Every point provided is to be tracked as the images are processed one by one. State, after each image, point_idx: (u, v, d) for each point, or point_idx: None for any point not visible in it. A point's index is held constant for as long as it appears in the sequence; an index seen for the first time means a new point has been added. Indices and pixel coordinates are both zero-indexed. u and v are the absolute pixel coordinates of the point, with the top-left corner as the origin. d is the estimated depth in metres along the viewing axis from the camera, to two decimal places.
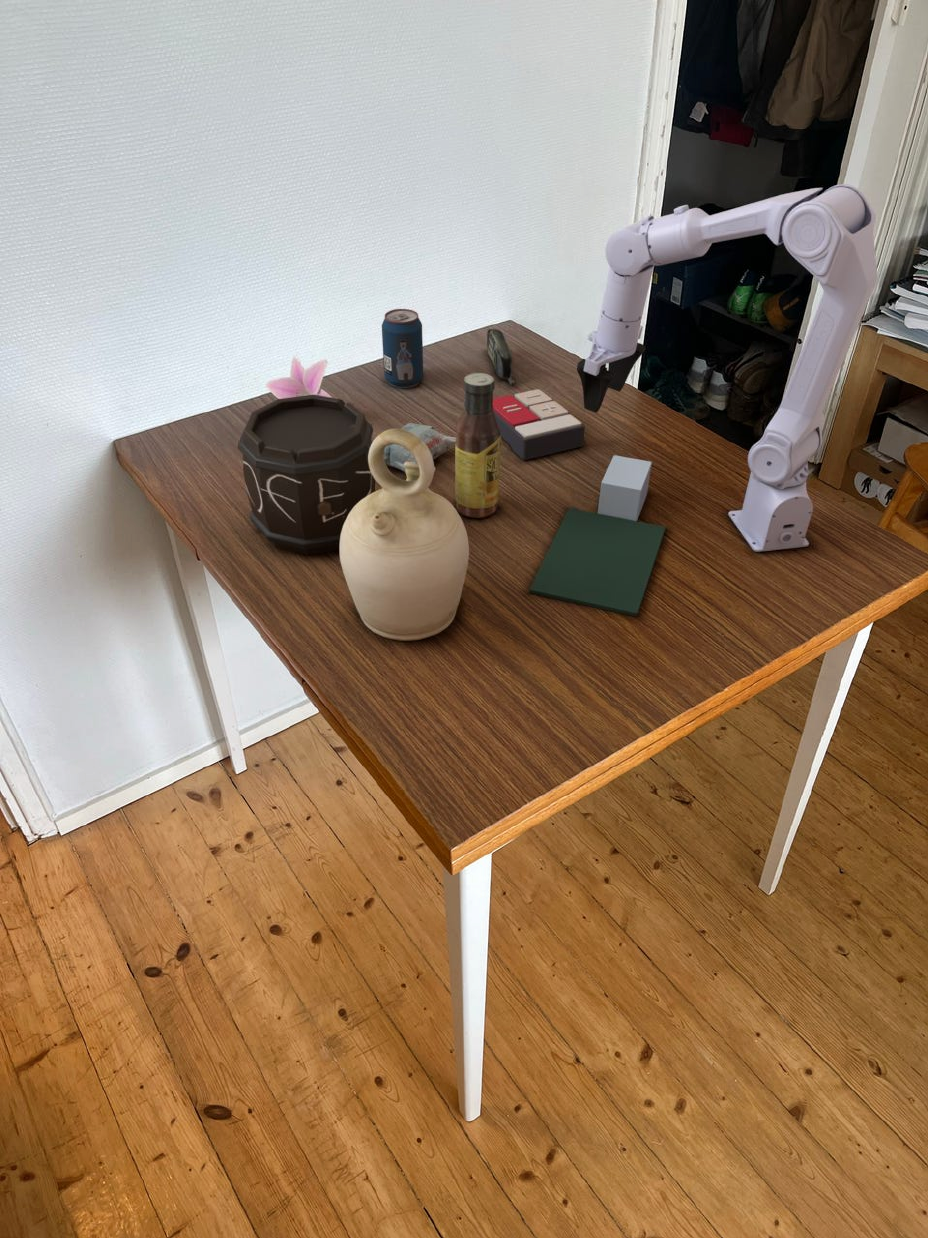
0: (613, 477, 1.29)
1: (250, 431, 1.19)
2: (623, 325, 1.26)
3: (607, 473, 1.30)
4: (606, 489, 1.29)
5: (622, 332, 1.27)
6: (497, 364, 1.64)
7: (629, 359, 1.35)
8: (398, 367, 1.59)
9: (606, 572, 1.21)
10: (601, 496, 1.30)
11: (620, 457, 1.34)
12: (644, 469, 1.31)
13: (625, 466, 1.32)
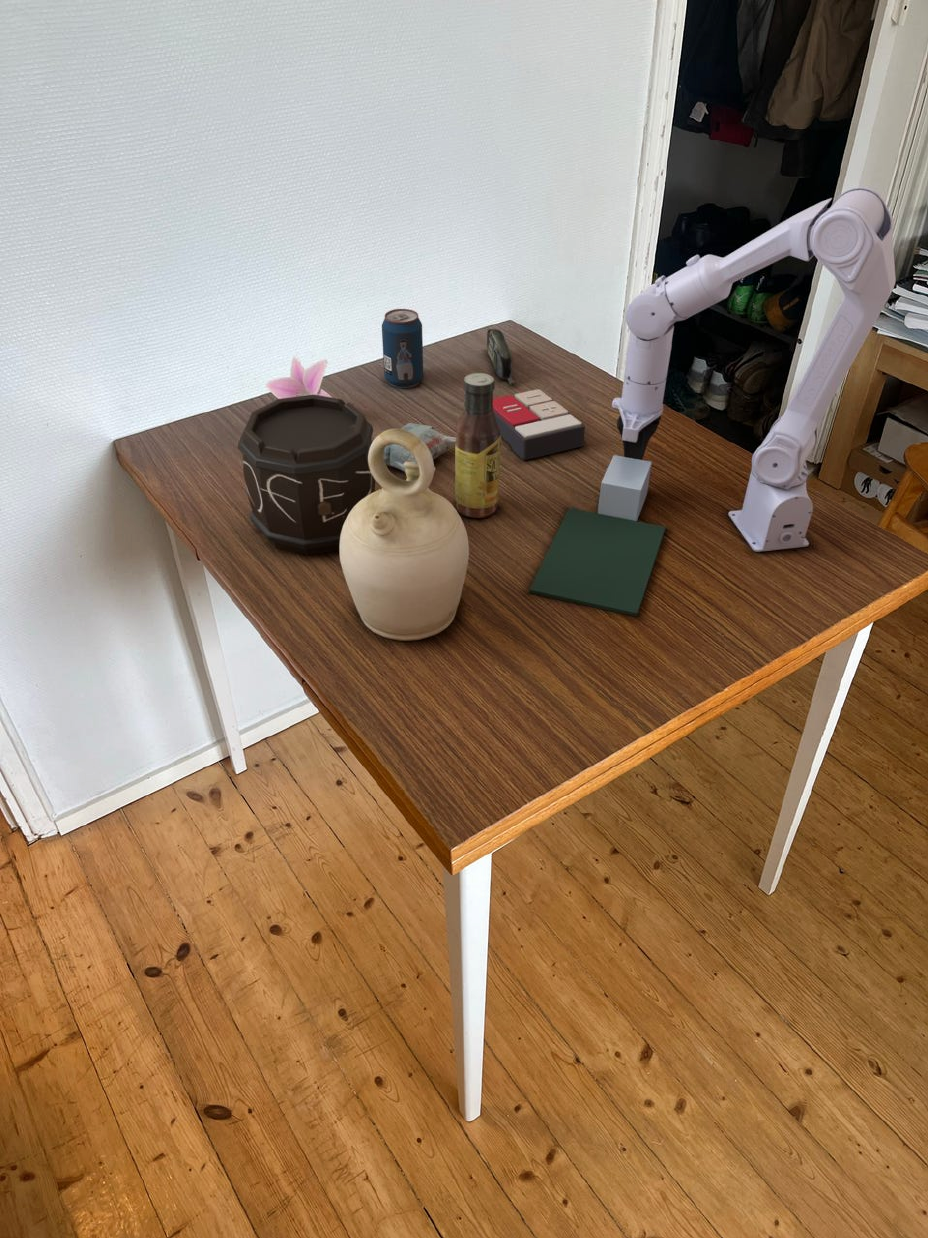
0: (613, 477, 1.29)
1: (250, 431, 1.18)
2: (652, 388, 1.24)
3: (607, 473, 1.30)
4: (606, 489, 1.29)
5: (652, 395, 1.25)
6: (497, 364, 1.64)
7: None
8: (398, 367, 1.59)
9: (606, 572, 1.21)
10: (601, 497, 1.30)
11: (620, 457, 1.34)
12: (644, 469, 1.31)
13: (625, 466, 1.32)
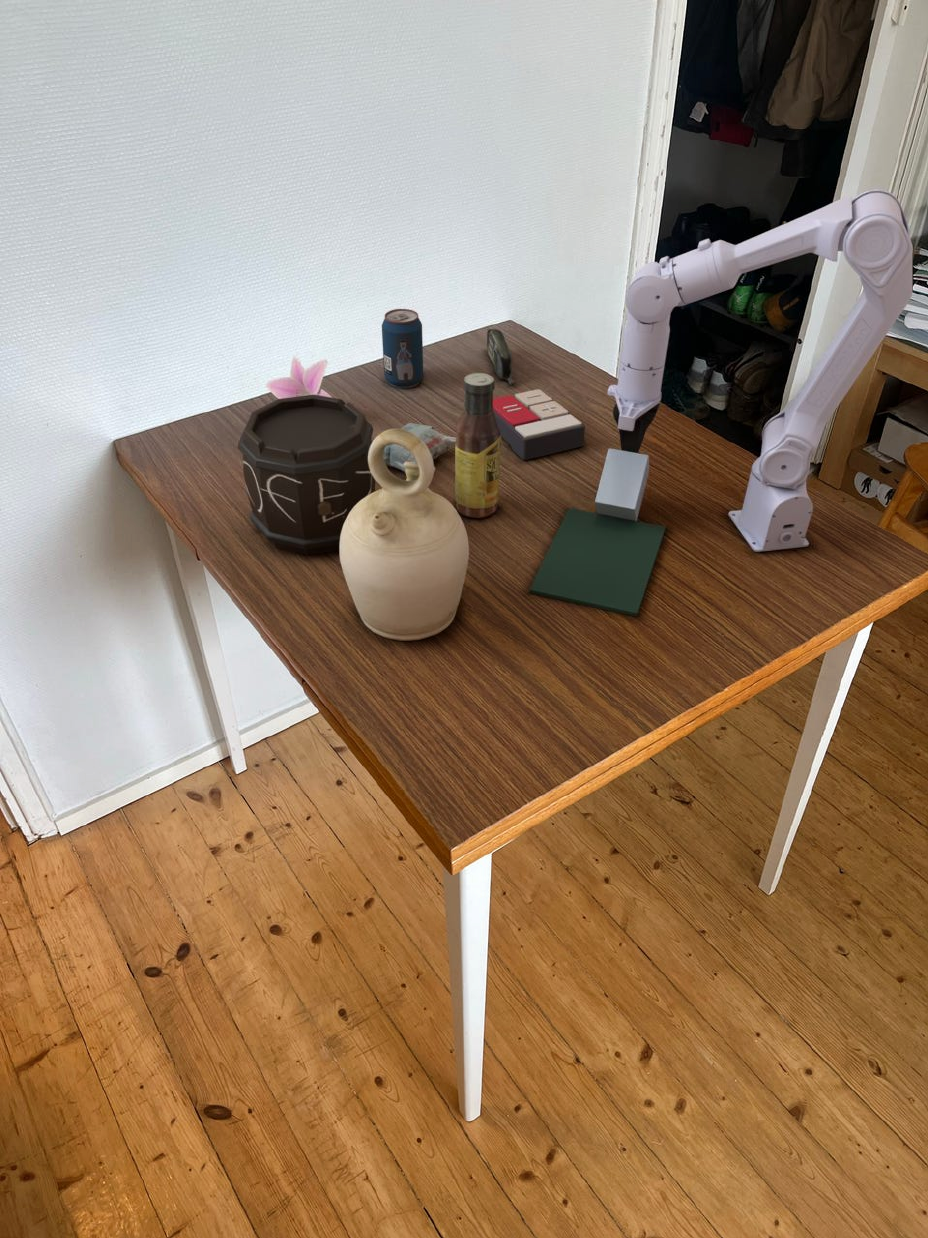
0: (607, 490, 1.27)
1: (250, 431, 1.18)
2: (650, 373, 1.18)
3: (601, 484, 1.27)
4: (601, 505, 1.27)
5: (650, 381, 1.19)
6: (497, 364, 1.64)
7: None
8: (398, 367, 1.59)
9: (606, 572, 1.21)
10: (598, 507, 1.29)
11: (615, 452, 1.28)
12: (640, 471, 1.26)
13: (620, 467, 1.27)
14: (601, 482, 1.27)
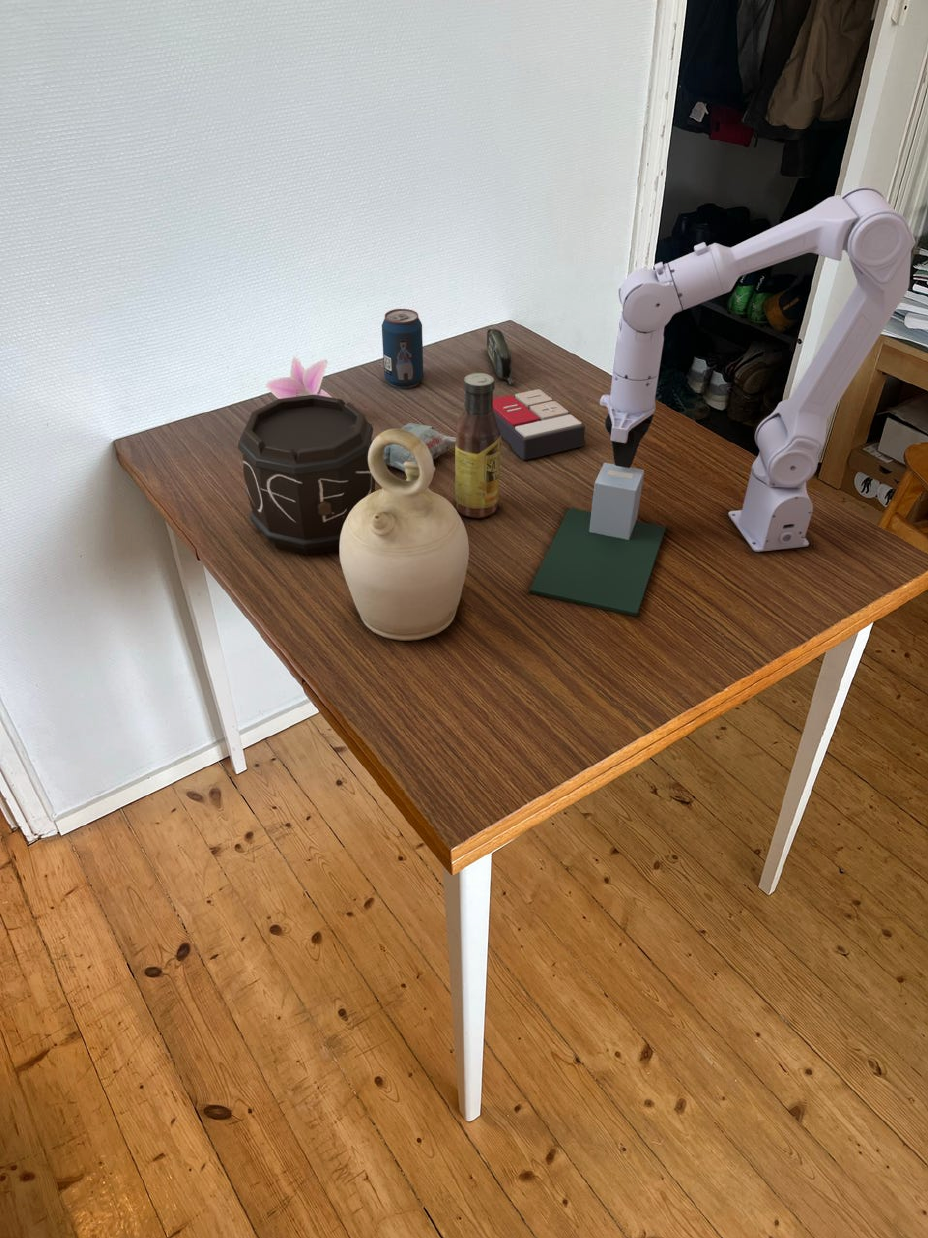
0: (599, 522, 1.26)
1: (250, 431, 1.18)
2: (643, 384, 1.14)
3: (592, 516, 1.26)
4: None
5: (643, 391, 1.15)
6: (496, 364, 1.64)
7: None
8: (398, 367, 1.59)
9: (606, 572, 1.21)
10: None
11: (602, 486, 1.23)
12: (629, 505, 1.23)
13: (609, 502, 1.24)
14: (592, 515, 1.26)
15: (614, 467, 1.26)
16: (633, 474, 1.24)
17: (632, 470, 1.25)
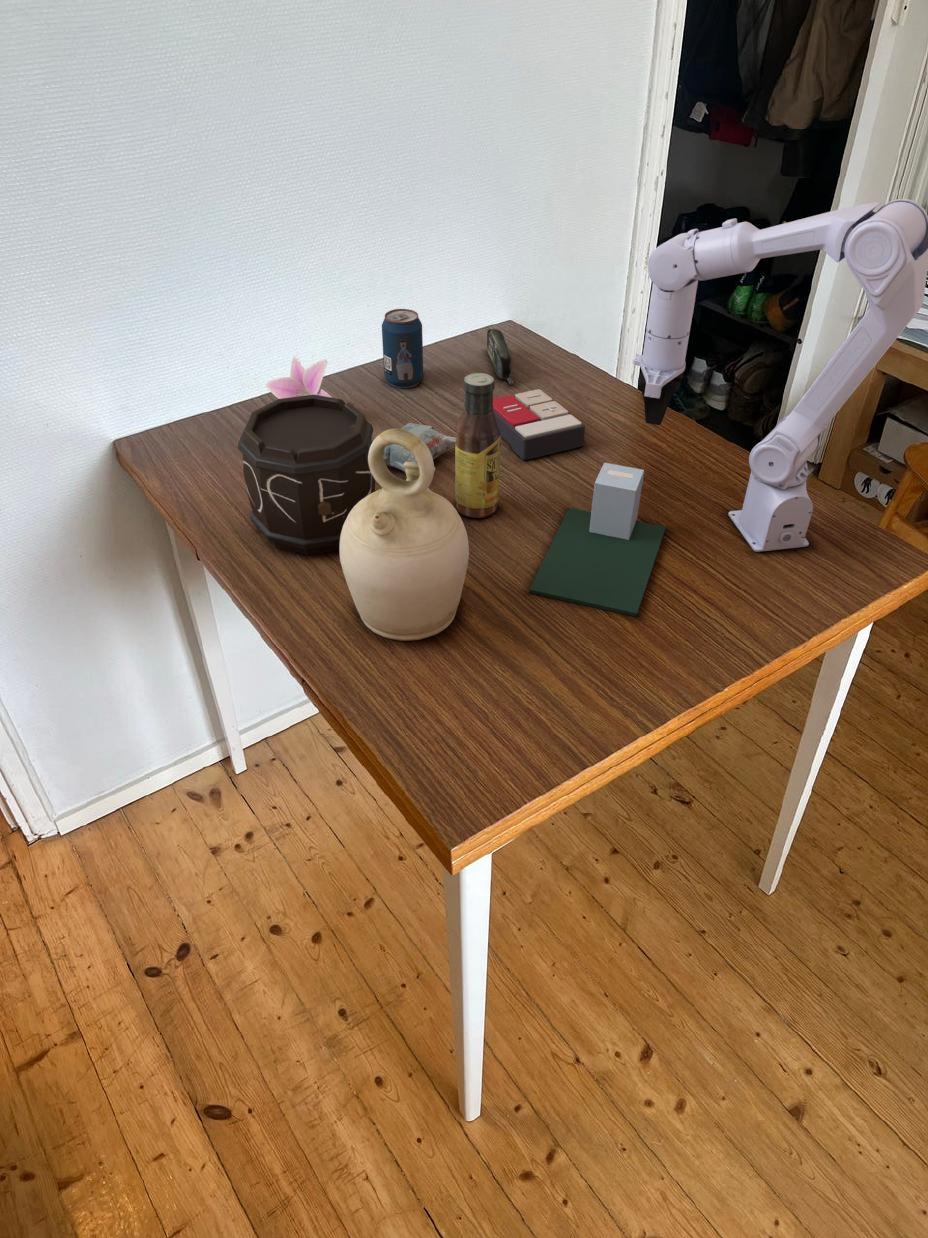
0: (599, 522, 1.26)
1: (250, 431, 1.18)
2: (676, 342, 1.21)
3: (592, 516, 1.26)
4: None
5: (675, 350, 1.22)
6: (496, 364, 1.64)
7: None
8: (398, 367, 1.59)
9: (606, 572, 1.21)
10: None
11: (602, 486, 1.23)
12: (629, 505, 1.23)
13: (609, 502, 1.24)
14: (592, 515, 1.26)
15: (614, 467, 1.26)
16: (633, 474, 1.24)
17: (632, 470, 1.25)
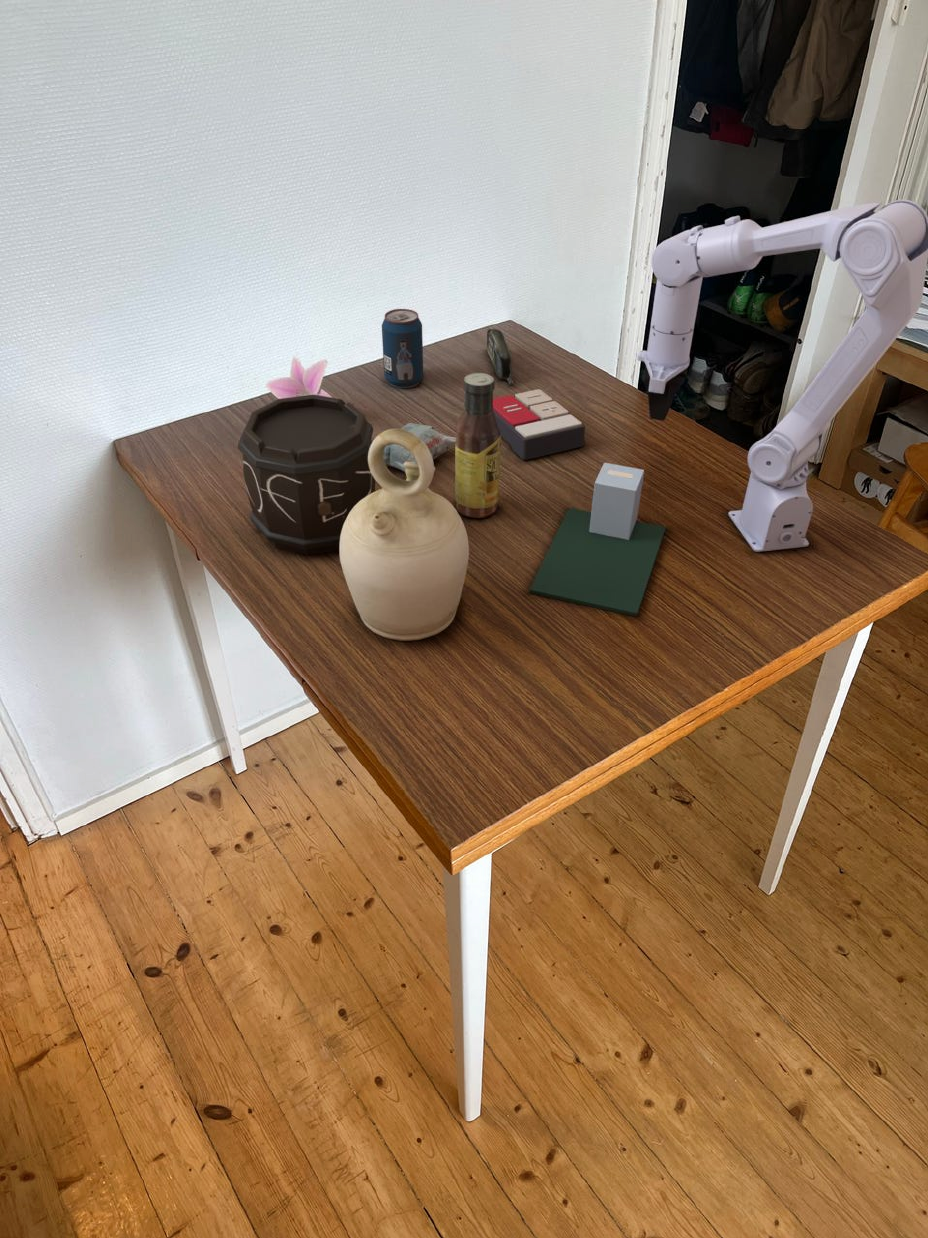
0: (599, 522, 1.26)
1: (250, 431, 1.18)
2: (680, 338, 1.22)
3: (592, 516, 1.26)
4: None
5: (679, 345, 1.23)
6: (496, 364, 1.64)
7: None
8: (398, 367, 1.59)
9: (606, 572, 1.21)
10: None
11: (602, 486, 1.23)
12: (629, 505, 1.23)
13: (609, 502, 1.24)
14: (592, 515, 1.26)
15: (614, 467, 1.26)
16: (633, 474, 1.24)
17: (632, 470, 1.25)
